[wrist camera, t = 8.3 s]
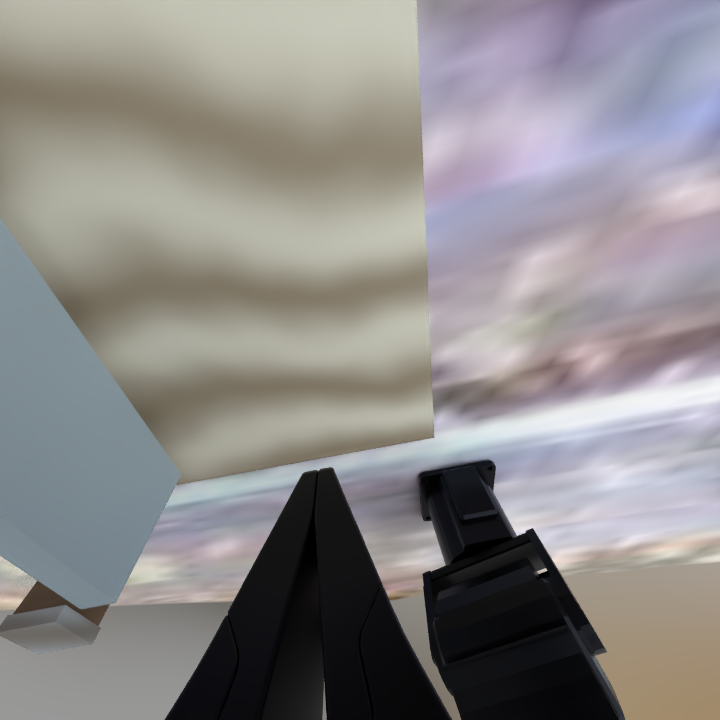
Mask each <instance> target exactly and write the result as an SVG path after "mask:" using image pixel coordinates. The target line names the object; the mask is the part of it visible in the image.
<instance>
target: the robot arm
mask: <svg viewBox="0 0 720 720" xmlns="http://www.w3.org/2000/svg"><path fill="white" fill-rule="evenodd" d="M495 470H496V466H495V464H494V463H493V462H492V461H484V462H479V463H473V464H468V465H462V466H457V467H451V468H446V469H441V470H435V471H430V472H424V473H421V474H420V475H419V488H420V500H421V512H422V518H423V520H424V521H432V523H433V526H434V529H435V532H436V535H437V539H438V542H439V545H440V548H441V552H442V555H443V558H444V561H445V564H446V566H444V567H441V568H439V569H436V570H434V571H431V572H430V571H428V572H425V573H423V582H424V586H423V589H424V598H425V607H426V614H427V625H428V633H429V642H430V650H431V656H432V660H433V662H434V664H435V665H436V666H437V667H438V670H439V673H440V675H441V678H442V680H443V682H444V684H445V686H446V688H447V689H448V691H449V692H450V694H451V695H452V696H453V697H454V699H455V702H456V704H457V708H458V710H459V713H460V717H461V720H625V717H624V714H623V711H622V709H621V706H620V704H619V701H618V699H617V697H616V694H615V692H614V689H613V687H612V685H611V683H610V682H609V680H608V678H607V677H606V675H605V673H604V671H603V669H602V668H601V666H600V664H599V663H598V661H597V659H596V657H595V655H599V654H602V653H605V652H607V651H606V650H605V648H604V646H603V644H602V642H601V641H600V639H599V638H598V636H597V634H596V632H595V631H594V629H593V627H592V625H591V624H590V622H589V620H588V619H587V617H586V615H585V614H584V612H583V610H582V609H581V607H580V605H579V603H578V602H577V600H576V598H575V597H574V595H573V593H572V592H571V590H570V588H569V587H568V585H567V583H566V582H565V580H564V578H563V577H562V575H561V573H560V572H559V570H558V568H557V567H556V565H555V563H554V562H553V560H552V558H551V557H550V555H549V554H548V552H547V550H546V549H545V547H544V545H543V544H542V542H541V541H540V539H539V537H538V536H537V534H536V533H535V531H534V529H533V528H532V529H530V530H527V531H526V533H524V534H522V535H519V536H517V535H516V533H515V532H514V530H513V528H512V526H511V524H510V522H509V520H508V519H507V517H506V515H505V513H504V511H503V509H502V508H501V506H500V504H499V502H498V500H497V498H496V496H495V495H494V493H493V487H494V479H495ZM544 568H546V569H547V571H546V572H544V573H541V574H538V573H537V571H539V570H541V569H544ZM324 681H325V697H326V713H327V720H452V719H451V717H450V715H449V713H448V712H447V710H446V708H445V707H444V705H443V703H442V701H441V699H440V697H439V696H438V694H437V692H436V690H435V688H434V687H433V685H432V683H431V682H430V680H429V678H428V676H427V674H426V673H425V671H424V669H423V667H422V665H421V664H420V662H419V660H418V658H417V656H416V654H415V652H414V651H413V649H412V647H411V645H410V643H409V641H408V639H407V637H406V635H405V633H404V632H403V629H402V627H401V625H400V623H399V621H398V618H397V616H396V614H395V612H394V610H393V608H392V605H391V603H390V601H389V598H388V596H387V594H386V591H385V589H384V587H383V585H382V582H381V580H380V577H379V575H378V573H377V570H376V568H375V566H374V563H373V561H372V559H371V556H370V554H369V552H368V549H367V547H366V544H365V542H364V540H363V537H362V535H361V533H360V530H359V528H358V526H357V523H356V521H355V519H354V516H353V514H352V511H351V509H350V507H349V504H348V502H347V500H346V497H345V495H344V493H343V490H342V488H341V486H340V483H339V481H338V478H337V476H336V474H335V471H334V469H333V468H332V467H329V468H324V469H320V470H319V471H317V470H313V471H308V472H304V473H303V474H302V476H301V477H300V479H299V481H298V483H297V485H296V487H295V489H294V490H293V492H292V494H291V496H290V498H289V500H288V501H287V503H286V505H285V507H284V509H283V511H282V513H281V514H280V516H279V518H278V520H277V522H276V524H275V526H274V527H273V529H272V531H271V533H270V535H269V537H268V538H267V540H266V542H265V544H264V546H263V548H262V550H261V551H260V553H259V555H258V557H257V559H256V561H255V563H254V564H253V566H252V568H251V570H250V572H249V574H248V575H247V577H246V579H245V581H244V583H243V585H242V587H241V588H240V590H239V592H238V594H237V596H236V598H235V600H234V601H233V603H232V605H231V607H230V609H229V611H228V615H227V616H225V618H224V620H223V621H222V623H221V625H220V627H219V629H218V631H217V633H216V635H215V636H214V638H213V640H212V642H211V643H210V645H209V647H208V649H207V650H206V652H205V654H204V656H203V658H202V659H201V661H200V663H199V665H198V667H197V668H196V670H195V672H194V673H193V675H192V677H191V678H190V680H189V682H188V683H187V684H186V686H185V688H184V690H183V691H182V693H181V694H180V696H179V698H178V699H177V701H176V703H175V704H174V706H173V707H172V709H171V711H170V712H169V714H168V715H167V717H166V718H165V720H322V711H323V690H324Z"/></svg>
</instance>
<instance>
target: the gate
mask: <svg viewBox="0 0 720 720" xmlns="http://www.w3.org/2000/svg"><path fill="white" fill-rule="evenodd" d="M180 476H181V473H180V472H179V471H178V469H177V468H176V466H175V465H174V463H173V462H172V461H171V459H170V458H169V456H168V455H167V453H166V452H165V451H164V449H163V448H162V446H161V445H160V444H159V442H158V441H157V439H156V438H155V436H154V435H153V434H152V432H151V431H150V429H149V428H148V427H147V425H146V424H145V422H144V421H143V419H142V418H141V417H140V415H139V414H138V412H137V411H136V409H135V408H134V407H133V405H132V404H131V402H130V401H129V400H128V398H127V397H126V395H125V394H124V392H123V391H122V390H121V388H120V387H119V385H118V384H117V383H116V381H115V380H114V378H113V377H112V375H111V374H110V373H109V371H108V370H107V368H106V367H105V365H104V364H103V363H102V361H101V360H100V358H99V357H98V356H97V354H96V353H95V351H94V350H93V348H92V347H91V346H90V344H89V343H88V341H87V340H86V339H85V337H84V336H83V334H82V333H81V331H80V330H79V329H78V327H77V326H76V324H75V323H74V321H73V320H72V319H71V317H70V316H69V314H68V313H67V312H66V310H65V309H64V307H63V306H62V304H61V303H60V302H59V300H58V299H57V297H56V296H55V295H54V293H53V292H52V290H51V289H50V287H49V286H48V285H47V283H46V282H45V280H44V279H43V277H42V276H41V275H40V273H39V272H38V270H37V269H36V268H35V266H34V265H33V263H32V262H31V260H30V259H29V258H28V256H27V255H26V253H25V252H24V251H23V249H22V248H21V246H20V245H19V243H18V242H17V241H16V239H15V238H14V236H13V235H12V233H11V232H10V231H9V229H8V228H7V226H6V225H5V224H4V222H3V221H2V219H1V218H0V556H2V557H3V558H5V559H6V560H8V561H9V562H11V563H12V564H14V565H15V566H17V567H18V568H20V569H21V570H23V571H24V572H26V573H27V574H29V575H30V576H32V577H33V578H35V579H36V580H38V581H39V582H41V583H42V584H43V585H45V586H46V587H48V588H49V589H51V590H52V591H54V592H55V593H57V594H58V595H60V596H61V597H63V598H64V599H66V600H67V601H69V602H70V603H72V604H73V605H75V606H76V607H78V608H79V609H86V608H91V607H97V606H102V605H108V604H113V603H116V601H117V599H118V597H119V595H120V593H121V591H122V589H123V588H124V586H125V584H126V582H127V580H128V578H129V576H130V574H131V572H132V570H133V568H134V566H135V564H136V562H137V560H138V558H139V556H140V554H141V552H142V550H143V548H144V546H145V544H146V542H147V541H148V539H149V537H150V535H151V533H152V531H153V529H154V527H155V525H156V523H157V521H158V519H159V517H160V515H161V513H162V511H163V509H164V507H165V505H166V503H167V501H168V499H169V497H170V495H171V493H172V492H173V490H174V488H175V486H176V484H177V482H178V480H179V478H180Z"/></svg>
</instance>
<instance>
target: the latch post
mask: <svg viewBox="0 0 720 720" xmlns="http://www.w3.org/2000/svg"><path fill="white" fill-rule="evenodd" d="M109 605H110V604H108V605H102V606H97V607H91V608H86V609H79V608H78V607H76V606H75V605H73V604H72V603H70V602H69V601H67V600H66V599H64V598H63V597H61V596H60V595H58V594H57V593H55V592H54V591H52V590H51V589H49V588H48V587H46V586H45V585H43V584H42V583H41V582H39V581H37V582H36V584H35V585H34V586H33V588H32V589H31V590H30V592H29V593H28V595H27V596H26V597H25V599H24V600H23V601H22V603H21V604H20V605H19V607H18V608H17V609H16V611H15V612H14V614H13V615H8V616H7V617H6V618H5V620H4V621H3V623H2V624H1V625H0V636H2V637H4V638H6V639H8V640H10V641H12V642H14V643H16V644H18V645H20V646H22V647H24V648H26V649H28V650H30V651H32V652H34V653H36V654H42V653H47V652H52V651H58V650H64V649H68V648H74V647H80V646H85V645H91V644H93V642H94V640H95V638H96V636H97V634H98V632H99V630H100V627H99V623H100V622H101V620H102V618H103V616H104V614H105V612H106V610H107V608H108V606H109Z"/></svg>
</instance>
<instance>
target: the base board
mask: <svg viewBox="0 0 720 720" xmlns="http://www.w3.org/2000/svg"><path fill="white" fill-rule="evenodd" d="M0 218H1V219H2V221H3V222H4V224H5V225H6V226H7V228H8V229H9V231H10V232H11V233H12V235H13V236H14V238H15V239H16V241H17V242H18V243H19V245H20V246H21V248H22V249H23V251H24V252H25V253H26V255H27V256H28V258H29V259H30V260H31V262H32V263H33V265H34V266H35V268H36V269H37V270H38V272H39V273H40V275H41V276H42V277H43V279H44V280H45V282H46V283H47V285H48V286H49V287H50V289H51V290H52V292H53V293H54V295H55V296H56V297H57V299H58V300H59V302H60V303H61V304H62V306H63V307H64V309H65V310H66V312H67V313H68V314H69V316H70V317H71V319H72V320H73V321H74V323H75V324H76V326H77V327H78V329H79V330H80V331H81V333H82V334H83V336H84V337H85V339H86V340H87V341H88V343H89V344H90V346H91V347H92V348H93V350H94V351H95V353H96V354H97V356H98V357H99V358H100V360H101V361H102V363H103V364H104V365H105V367H106V368H107V370H108V371H109V373H110V374H111V375H112V377H113V378H114V380H115V381H116V383H117V384H118V385H119V387H120V388H121V390H122V391H123V392H124V394H125V395H126V397H127V398H128V400H129V401H130V402H131V404H132V405H133V407H134V408H135V409H136V411H137V412H138V414H139V415H140V417H141V418H142V419H143V421H144V422H145V424H146V425H147V427H148V428H149V429H150V431H151V432H152V434H153V435H154V436H155V438H156V439H157V441H158V442H159V444H160V445H161V446H162V448H163V449H164V451H165V452H166V453H167V455H168V456H169V458H170V459H171V461H172V462H173V463H174V465H175V466H176V468H177V469H178V471H179V472H180V473H181V476H180V478H179V480H178V482H177V484H176V485H179V484H184V483H190V482H195V481H200V480H206V479H211V478H217V477H222V476H228V475H233V474H239V473H244V472H249V471H255V470H260V469H266V468H271V467H277V466H282V465H288V464H293V463H298V462H304V461H309V460H315V459H320V458H326V457H331V456H336V455H342V454H347V453H353V452H358V451H364V450H369V449H375V448H380V447H385V446H391V445H396V444H402V443H407V442H413V441H418V440H424V439H429V438H434V423H433V399H432V374H431V349H430V325H429V300H428V275H427V250H426V226H425V201H424V176H423V152H422V127H421V102H420V77H419V53H418V28H417V3H416V0H0Z"/></svg>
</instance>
